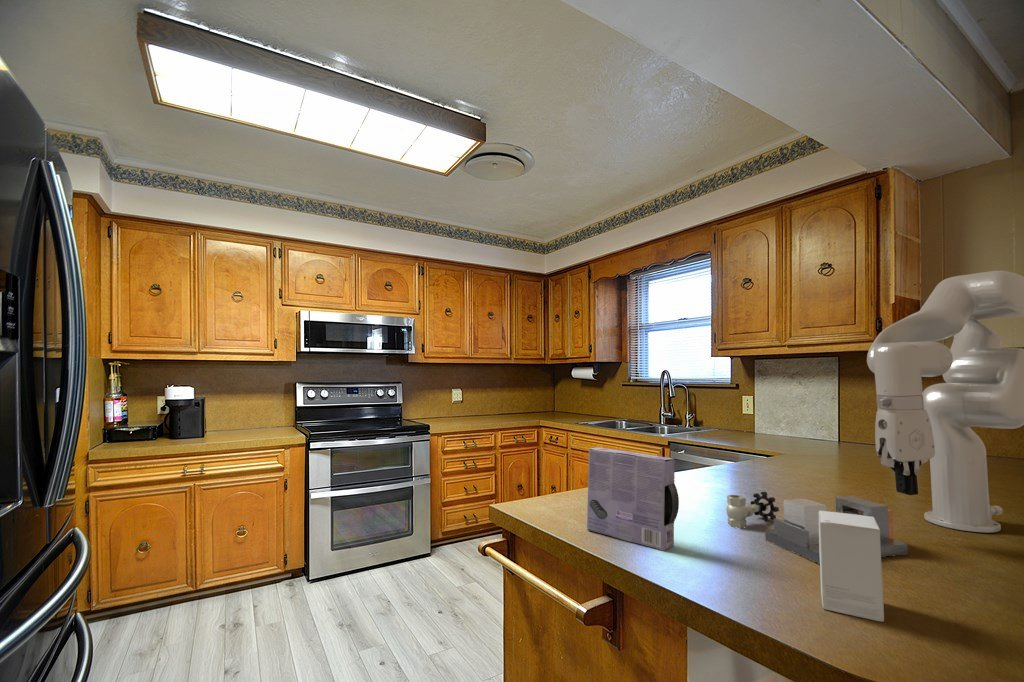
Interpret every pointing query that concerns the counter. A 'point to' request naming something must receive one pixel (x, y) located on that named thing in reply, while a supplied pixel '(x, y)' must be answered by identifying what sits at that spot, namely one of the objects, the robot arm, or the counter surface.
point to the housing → (804, 516)
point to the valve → (748, 509)
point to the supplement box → (851, 565)
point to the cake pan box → (632, 497)
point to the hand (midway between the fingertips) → (907, 493)
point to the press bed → (814, 549)
